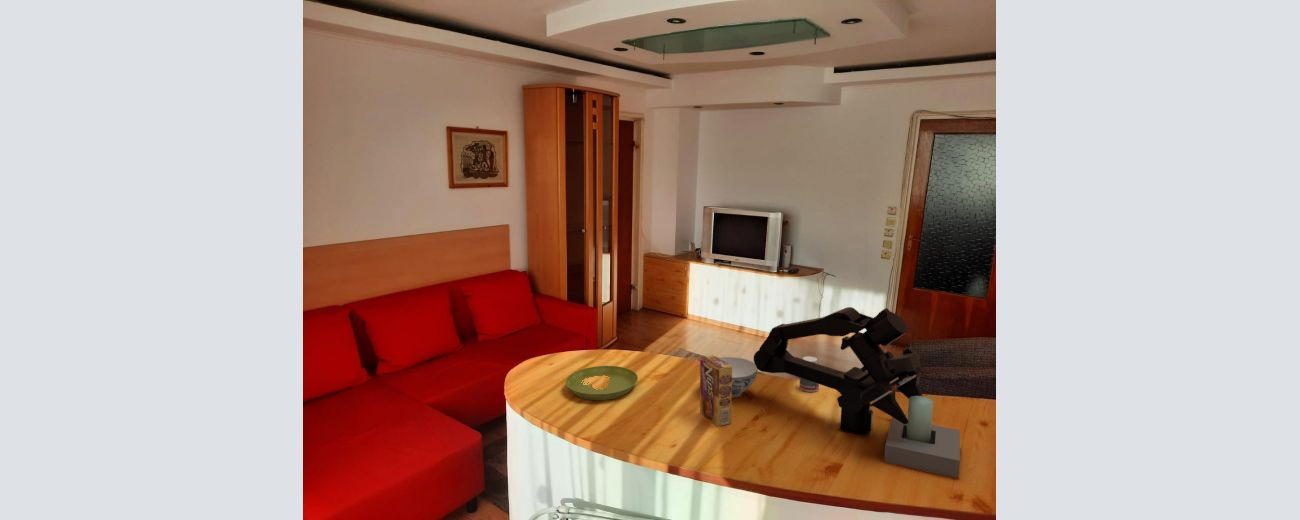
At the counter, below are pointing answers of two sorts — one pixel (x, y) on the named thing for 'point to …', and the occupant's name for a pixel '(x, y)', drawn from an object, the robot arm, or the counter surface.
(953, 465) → the socket block
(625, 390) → the saucer
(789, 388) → the counter surface
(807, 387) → the pill bottle
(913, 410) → the teal peg
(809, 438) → the counter surface
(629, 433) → the counter surface
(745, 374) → the chinaware
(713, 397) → the candy box
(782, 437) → the counter surface
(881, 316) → the robot arm
